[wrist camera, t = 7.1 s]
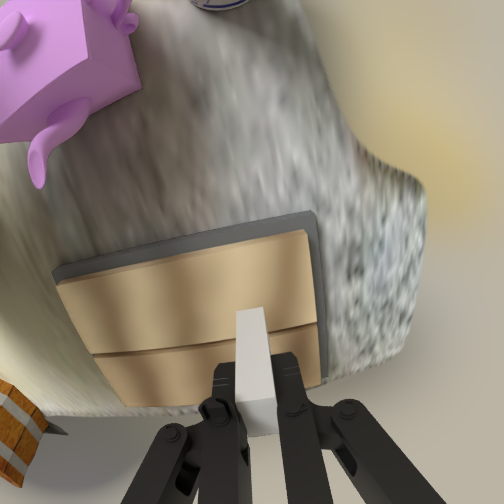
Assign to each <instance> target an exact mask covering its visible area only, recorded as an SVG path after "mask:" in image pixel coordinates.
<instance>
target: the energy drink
mask: <svg viewBox="0 0 504 504" xmlns="http://www.w3.org/2000/svg"><path fill="white" fill-rule="evenodd" d="M189 1H190V2H191V3H192V4H194V5H195V6H197V7H200V8H202V9H207V10H215V11H217V10H228V9H232V8H236V7H238V6H240V5H243V4H244V3H246V2H247V1H249V0H189Z"/></svg>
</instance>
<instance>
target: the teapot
mask: <svg viewBox="0 0 504 504" xmlns="http://www.w3.org/2000/svg"><path fill="white" fill-rule="evenodd" d="M131 1H132V0H9V1H8V2H7V3H6V4H4V5H3V6H2V7H1V8H0V143H11V142H24V141H32V142H31V144H30V147H29V150H28V169H29V174H30V177H31V180H32V182H33V184H34V186H35V187H36V188H37V189H39V190H40V189H42V188H43V187H44V185H45V181H46V169H47V160H48V157H49V154H50V153H51V151H52V150H53V149H54V148H55V147H56V146H58V145H60V144H61V143H63V142H65V141H66V140H68V139H69V138H71V137H72V136H73V135H75V134H76V133H77V132H78V131H79V130H80V129H81V128H82V126H83V125H84V123H85V121H86V120H87V117H88V116H90V115H91V114H93V113H95V112H97V111H99V110H100V109H102V108H104V107H106V106H108V105H110V104H111V103H113V102H115V101H117V100H119V99H121V98H123V97H125V96H127V95H130V94H132V93H134V92H136V91H138V90H140V89H142V84H141V81H140V77H139V73H138V70H137V66H136V62H135V58H134V54H133V51H132V47H131V43H130V39H129V34H130V33H132V32H134V31H135V30H136V29H137V27H138V25H139V17H138V16H137V14H135V13H127V12H128V10H129V7H130V5H131Z"/></svg>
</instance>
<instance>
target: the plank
mask: <svg viewBox="0 0 504 504" xmlns="http://www.w3.org/2000/svg"><path fill="white" fill-rule="evenodd" d="M55 287H56V289H57V292H58V294H59V296H60V298H61V300H62V302H63V305H64V307H65V309H66V311H67V313H68V315H69V317H70V319H71V321H72V323H73V325H74V326H75V328H76V330H77V332H78V334H79V336H80V337H81V339H82V341H83V343H84V345H85V346H86V348H87V350H88V351H89V353H90V354H95V353H112V352H126V351H138V350H149V349H159V348H168V347H177V346H185V345H192V344H200V343H207V342H213V341H220V340H226V339H232V338H236V311H241V310H247V309H253V308H259V307H263V309H264V315H265V320H266V325H267V330H268V332H271V331H276V330H281V329H286V328H290V327H295V326H300V325H304V324H308V323H313V322H317V317H316V306H315V296H314V286H313V277H312V268H311V259H310V251H309V243H308V236H307V233H306V232H305V231H304V230H303V229H302V230H297V231H292V232H287V233H282V234H277V235H272V236H267V237H262V238H257V239H252V240H247V241H242V242H237V243H232V244H227V245H222V246H217V247H213V248H208V249H203V250H198V251H193V252H189V253H184V254H179V255H174V256H170V257H165V258H160V259H156V260H151V261H146V262H142V263H137V264H132V265H128V266H123V267H119V268H114V269H110V270H105V271H101V272H96V273H92V274H87V275H83V276H78V277H74V278H69V279H65V280H62V281H61V282H60V283H58V284H57V285H56V286H55Z"/></svg>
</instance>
